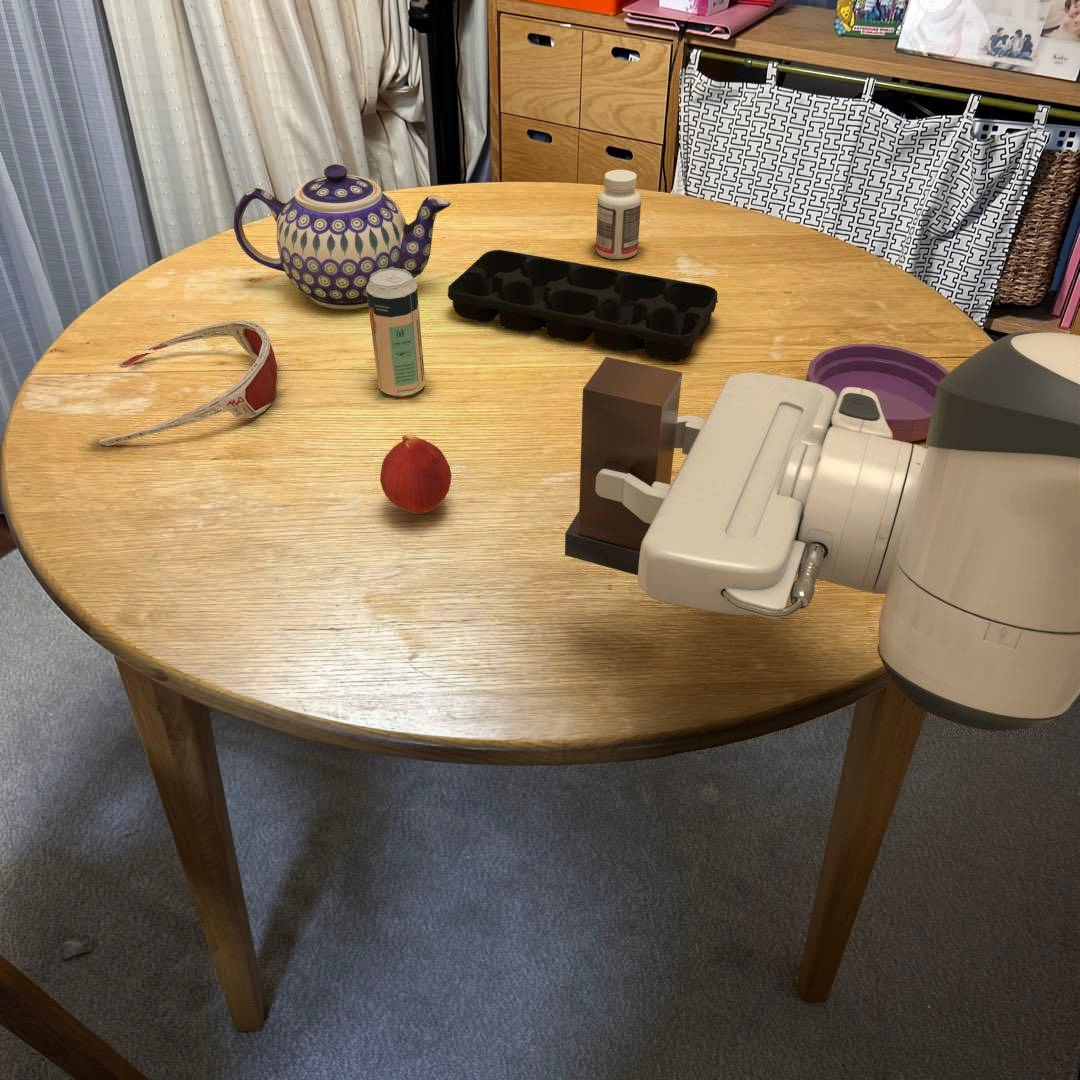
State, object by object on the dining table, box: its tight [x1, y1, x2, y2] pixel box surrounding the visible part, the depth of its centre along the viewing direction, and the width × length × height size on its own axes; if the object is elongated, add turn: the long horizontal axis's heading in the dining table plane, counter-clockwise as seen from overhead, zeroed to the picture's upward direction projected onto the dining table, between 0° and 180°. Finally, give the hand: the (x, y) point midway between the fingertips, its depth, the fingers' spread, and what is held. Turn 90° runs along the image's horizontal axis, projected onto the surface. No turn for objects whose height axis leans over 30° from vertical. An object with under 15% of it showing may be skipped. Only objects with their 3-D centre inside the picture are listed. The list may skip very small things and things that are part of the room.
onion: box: [379, 433, 452, 515], centre depth 80 cm, size 6×6×8 cm
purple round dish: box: [805, 343, 951, 443], centre depth 94 cm, size 14×14×3 cm
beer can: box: [366, 268, 426, 398], centre depth 94 cm, size 5×5×12 cm
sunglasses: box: [98, 320, 278, 447], centre depth 96 cm, size 17×17×5 cm
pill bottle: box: [595, 169, 642, 260], centre depth 120 cm, size 5×5×10 cm
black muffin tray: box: [447, 249, 719, 363], centre depth 108 cm, size 18×30×4 cm, turn 79°
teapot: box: [233, 163, 452, 311], centre depth 110 cm, size 25×15×15 cm, turn 85°
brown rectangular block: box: [564, 356, 683, 576], centre depth 60 cm, size 6×4×13 cm
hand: (614, 453), depth 60 cm, fingers closed on brown rectangular block, 4 cm apart
